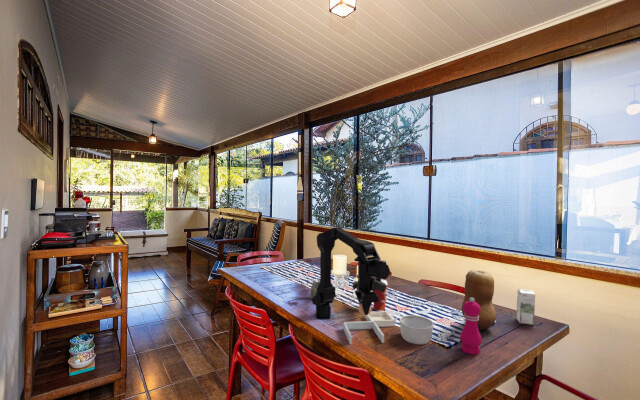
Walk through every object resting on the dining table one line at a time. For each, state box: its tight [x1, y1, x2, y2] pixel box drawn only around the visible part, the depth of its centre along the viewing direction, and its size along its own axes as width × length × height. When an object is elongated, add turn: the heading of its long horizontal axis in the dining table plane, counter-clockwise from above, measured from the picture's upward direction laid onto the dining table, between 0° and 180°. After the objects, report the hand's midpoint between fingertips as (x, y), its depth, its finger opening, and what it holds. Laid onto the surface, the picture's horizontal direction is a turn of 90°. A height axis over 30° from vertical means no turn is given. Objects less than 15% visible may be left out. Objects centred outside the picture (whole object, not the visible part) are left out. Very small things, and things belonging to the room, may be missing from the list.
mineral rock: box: [309, 280, 338, 300], centre depth 173 cm, size 13×11×10 cm
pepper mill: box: [459, 297, 483, 355], centre depth 118 cm, size 7×7×20 cm
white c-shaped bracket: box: [342, 320, 385, 345], centre depth 130 cm, size 14×14×3 cm
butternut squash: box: [461, 269, 497, 331], centre depth 138 cm, size 14×13×25 cm
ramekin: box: [398, 314, 435, 345], centre depth 128 cm, size 13×13×7 cm
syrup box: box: [516, 288, 536, 326], centre depth 145 cm, size 6×6×14 cm
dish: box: [364, 310, 396, 328], centre depth 144 cm, size 11×11×3 cm
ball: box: [357, 304, 372, 316], centre depth 127 cm, size 5×5×5 cm
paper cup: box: [372, 279, 388, 311], centre depth 160 cm, size 8×8×14 cm
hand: (364, 312), depth 127 cm, fingers closed on ball, 5 cm apart
